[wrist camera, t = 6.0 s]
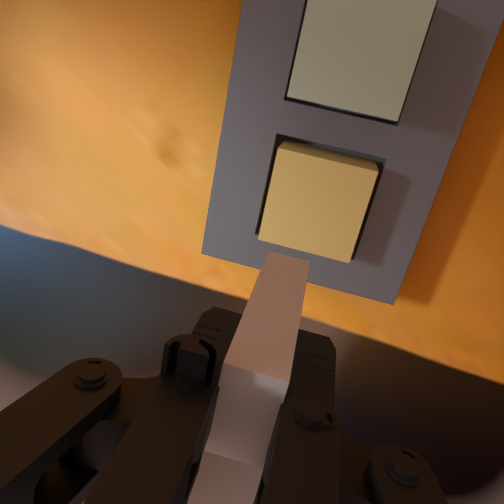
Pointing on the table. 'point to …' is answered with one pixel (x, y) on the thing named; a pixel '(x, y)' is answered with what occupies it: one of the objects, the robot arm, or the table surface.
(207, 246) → the button board
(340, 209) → the ochre button
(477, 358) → the table surface
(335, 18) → the sage button
